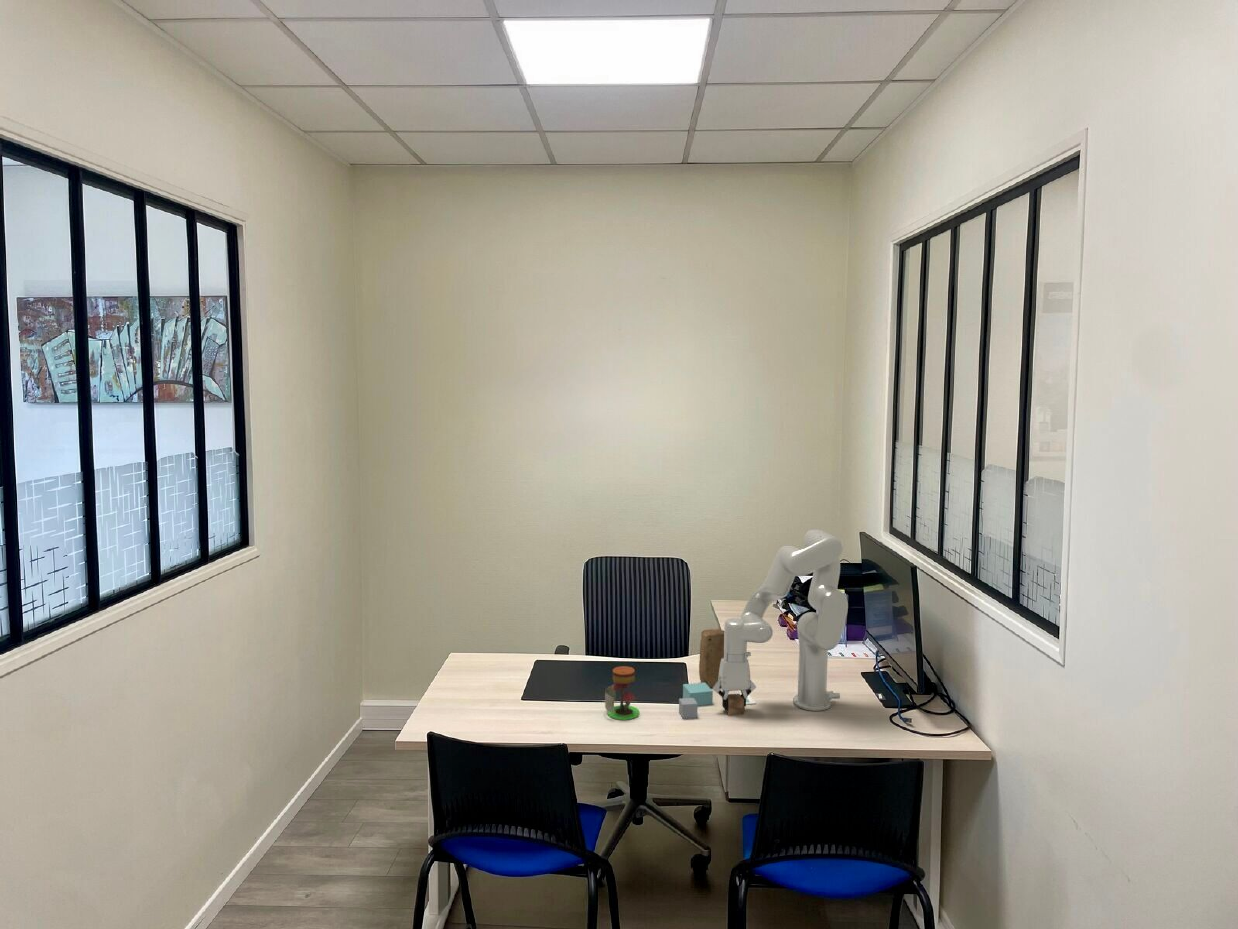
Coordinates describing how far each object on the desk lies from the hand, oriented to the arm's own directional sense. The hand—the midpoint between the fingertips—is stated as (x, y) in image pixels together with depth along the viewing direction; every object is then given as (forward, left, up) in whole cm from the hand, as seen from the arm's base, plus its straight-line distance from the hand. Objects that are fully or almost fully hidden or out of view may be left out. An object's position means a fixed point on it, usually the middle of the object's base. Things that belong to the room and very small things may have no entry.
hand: (734, 708), depth 277 cm
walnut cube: (0, 0, -1) cm, 1 cm away
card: (-4, -8, -1) cm, 9 cm away
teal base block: (+10, -10, -1) cm, 14 cm away
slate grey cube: (+16, +1, -1) cm, 16 cm away
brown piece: (0, -24, -1) cm, 24 cm away
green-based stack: (+37, -4, -1) cm, 37 cm away
